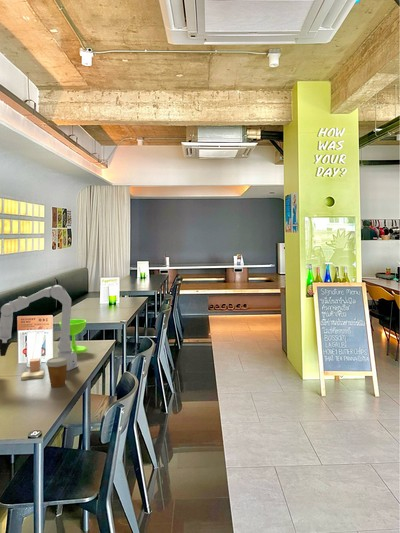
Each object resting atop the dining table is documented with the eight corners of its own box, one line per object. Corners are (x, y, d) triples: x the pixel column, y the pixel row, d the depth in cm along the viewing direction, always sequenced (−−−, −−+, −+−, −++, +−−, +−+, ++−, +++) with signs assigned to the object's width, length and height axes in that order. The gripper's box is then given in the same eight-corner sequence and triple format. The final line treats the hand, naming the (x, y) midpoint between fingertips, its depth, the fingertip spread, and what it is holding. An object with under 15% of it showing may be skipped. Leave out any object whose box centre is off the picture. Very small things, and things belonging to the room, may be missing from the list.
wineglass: (76, 345, 260) (75, 318, 259) (92, 349, 250) (91, 320, 249) (54, 351, 247) (53, 322, 246) (71, 355, 238) (69, 325, 236)
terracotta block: (40, 369, 212) (39, 358, 212) (39, 372, 208) (38, 360, 208) (31, 370, 211) (30, 359, 211) (30, 373, 207) (29, 361, 207)
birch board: (44, 373, 206) (44, 370, 206) (42, 377, 199) (42, 374, 199) (23, 375, 203) (23, 372, 203) (21, 379, 196) (20, 376, 196)
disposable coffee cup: (72, 382, 191) (72, 357, 191) (59, 389, 182) (58, 363, 182) (56, 380, 195) (55, 356, 194) (42, 387, 186) (41, 361, 185)
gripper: (-4, 324, 210) (-6, 349, 210) (-4, 330, 197) (-7, 357, 197) (11, 324, 213) (8, 350, 213) (12, 330, 200) (9, 357, 200)
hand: (2, 353), depth 205 cm, fingers open, 7 cm apart
